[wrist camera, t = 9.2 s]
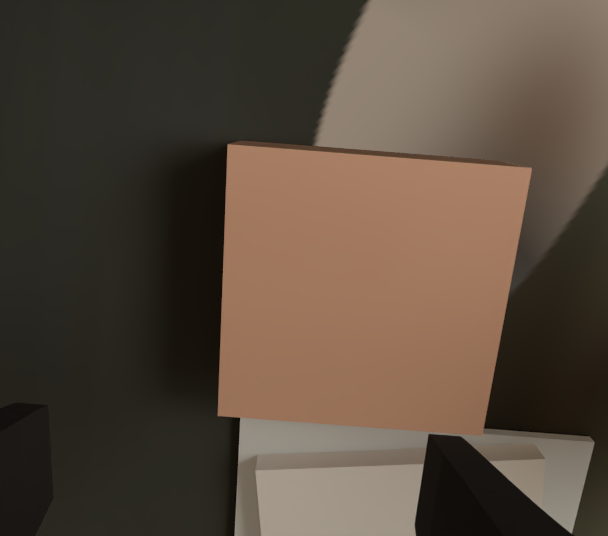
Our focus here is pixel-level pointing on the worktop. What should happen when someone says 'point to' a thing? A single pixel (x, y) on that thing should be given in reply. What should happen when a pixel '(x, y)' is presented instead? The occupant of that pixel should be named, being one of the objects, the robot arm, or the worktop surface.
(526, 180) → the block
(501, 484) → the robot arm
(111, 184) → the worktop surface
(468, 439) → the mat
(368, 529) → the lid
